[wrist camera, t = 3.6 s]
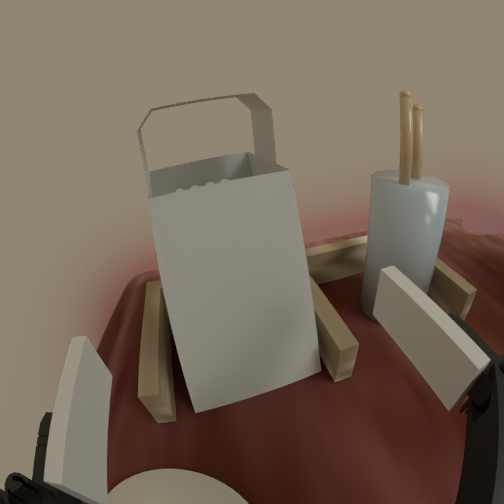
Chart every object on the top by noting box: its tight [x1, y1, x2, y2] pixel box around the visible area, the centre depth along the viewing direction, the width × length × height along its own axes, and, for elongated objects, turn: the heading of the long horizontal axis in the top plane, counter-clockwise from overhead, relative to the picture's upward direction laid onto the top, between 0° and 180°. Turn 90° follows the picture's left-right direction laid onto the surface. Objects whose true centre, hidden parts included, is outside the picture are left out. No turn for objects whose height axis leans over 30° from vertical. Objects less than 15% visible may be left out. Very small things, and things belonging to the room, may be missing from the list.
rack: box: [138, 235, 477, 423], centre depth 25 cm, size 30×14×4 cm, turn 104°
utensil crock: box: [360, 90, 449, 324], centre depth 22 cm, size 7×7×20 cm
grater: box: [137, 93, 321, 413], centre depth 20 cm, size 10×10×20 cm
